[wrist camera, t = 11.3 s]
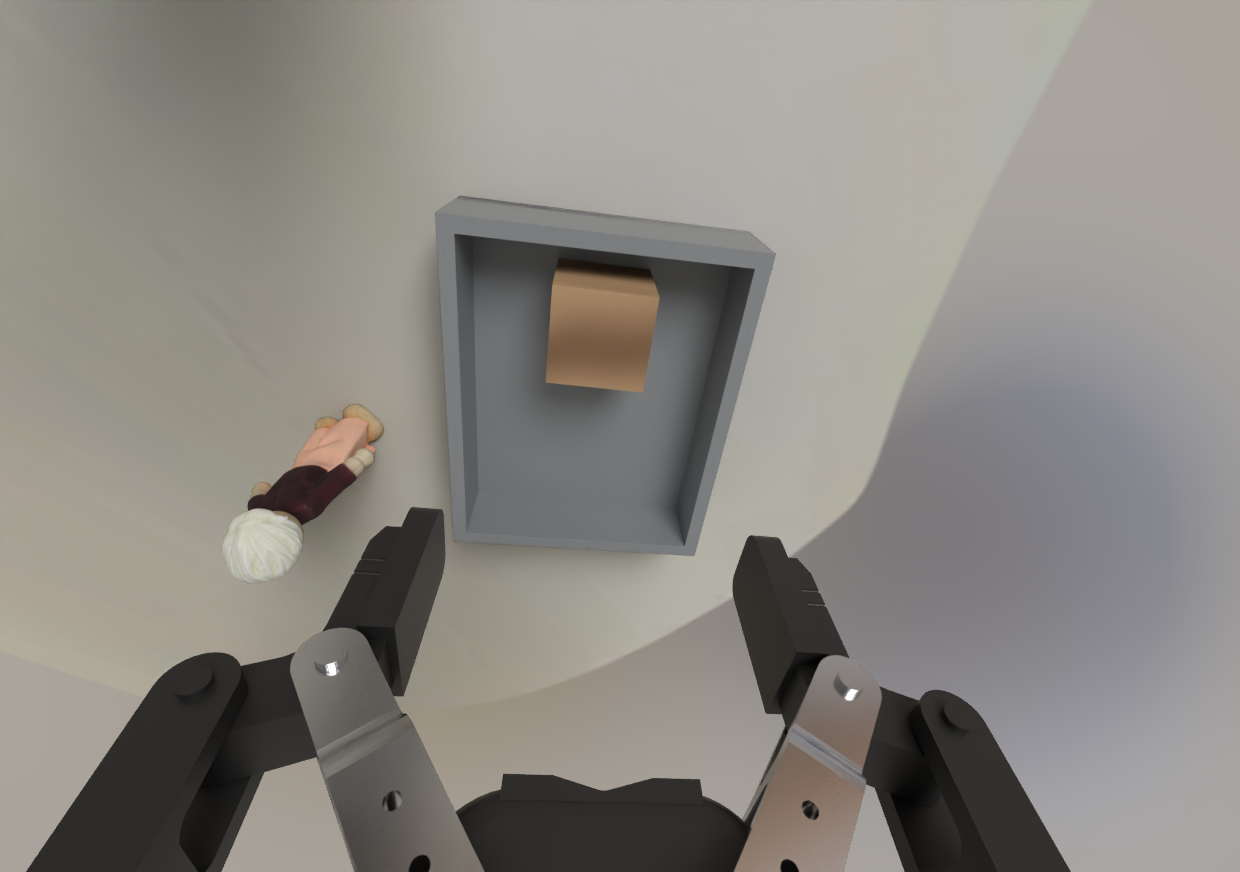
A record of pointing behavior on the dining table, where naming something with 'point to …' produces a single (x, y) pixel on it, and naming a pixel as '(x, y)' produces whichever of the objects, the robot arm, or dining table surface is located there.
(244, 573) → the grandmother figurine
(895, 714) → the robot arm
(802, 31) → the dining table surface
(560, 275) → the walnut block
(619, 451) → the tote
